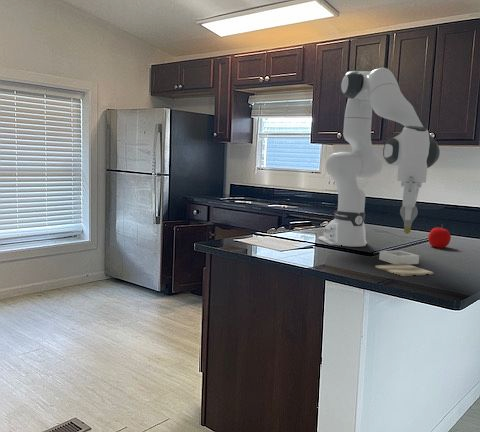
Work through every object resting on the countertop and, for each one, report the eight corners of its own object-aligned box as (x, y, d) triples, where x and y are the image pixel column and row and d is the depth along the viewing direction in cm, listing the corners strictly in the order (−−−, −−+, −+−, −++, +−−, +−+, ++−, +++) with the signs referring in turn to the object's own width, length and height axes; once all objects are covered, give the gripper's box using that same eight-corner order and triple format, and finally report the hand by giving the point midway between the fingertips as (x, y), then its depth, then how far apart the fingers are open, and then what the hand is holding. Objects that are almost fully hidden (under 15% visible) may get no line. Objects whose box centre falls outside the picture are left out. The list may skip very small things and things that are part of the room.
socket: (379, 259, 176) (379, 251, 176) (399, 258, 180) (400, 250, 180) (397, 265, 167) (398, 256, 167) (418, 263, 171) (419, 255, 171)
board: (375, 267, 163) (375, 265, 163) (405, 265, 168) (405, 263, 168) (402, 276, 151) (402, 274, 151) (433, 274, 156) (433, 272, 156)
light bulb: (418, 234, 155) (421, 204, 154) (402, 234, 155) (405, 203, 154) (411, 232, 161) (413, 202, 160) (395, 231, 160) (398, 202, 159)
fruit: (451, 250, 203) (454, 226, 201) (429, 248, 204) (431, 225, 203) (447, 246, 212) (449, 223, 210) (425, 244, 213) (427, 222, 212)
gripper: (421, 177, 145) (417, 223, 147) (422, 176, 164) (419, 216, 165) (399, 176, 147) (396, 221, 149) (403, 175, 166) (399, 214, 168)
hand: (408, 218), depth 157 cm, fingers closed on light bulb, 5 cm apart
